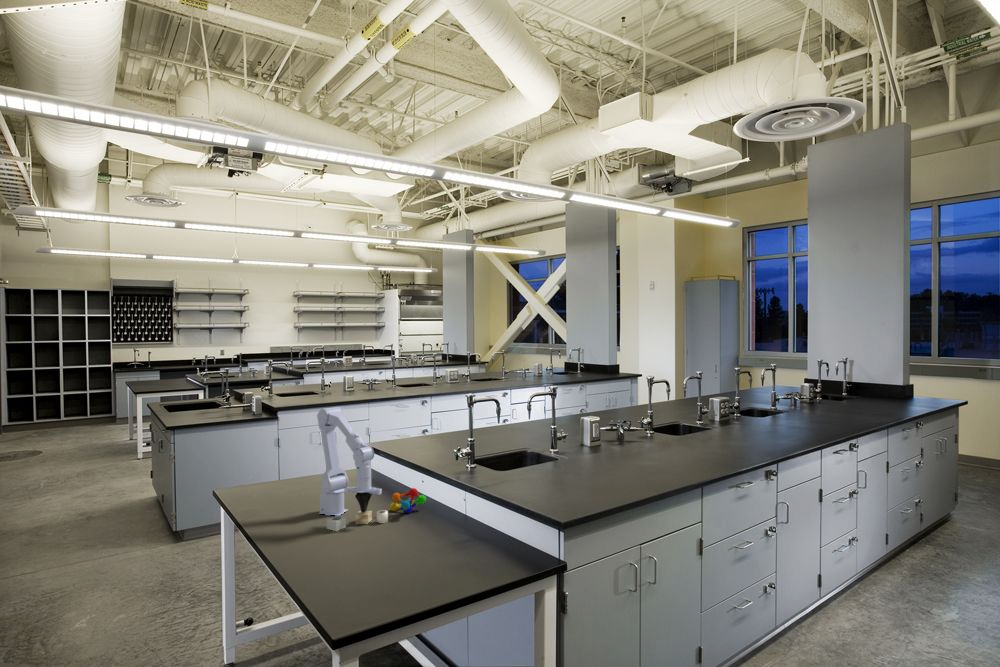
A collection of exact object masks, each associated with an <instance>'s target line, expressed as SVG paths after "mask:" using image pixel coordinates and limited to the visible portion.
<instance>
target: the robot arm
mask: <svg viewBox="0 0 1000 667" xmlns="http://www.w3.org/2000/svg"><path fill="white" fill-rule="evenodd" d="M316 418H317V423H318V429H319V430H320V434H321V443H322V448H323V454H324V459H325V460H324V461H325V466H326V470H325V471H324V472H323V473H322V474H321V489H322V492H321V493H320V496H319V513H318V515H319V514H325V515H324V516H330V515H335V516H339V517H341V514H342V515H343V514H345V513H346V512H348V511H349V509H347V508H345V494H348V493H350V494H351V493H356V494H355V496H354V497H355V499H356V500H357V502H358V505H359V508H360V511H361V512H366V511H368V505H369V503H370V500H371V497H372V495H378V496H379V495H382V493H383V491H382V489H383V488H379V487H375V486H372V460H373V459H374V457H375V451H374V448H373V446H371V445H368V444H367V443H366V442H365V441H364V440H363V438H362V437H361V436H360V434H359V433H358V432H354V430H353V428H352V427H351V425H350V423H349V421H348V420H347V412H346V411H345V409H344V407H343V406H334V407H328V408H325V407H324V408H320V409H319V411H318V413H317V414H316ZM336 427H337V428H338V429H339V430H340V431H341V433H342V434H343V435H344V436H345V437H346V438H345V443H346V444H347V446H348V447H349V448H350V450H351V451H352V453H353V454H352V459H353V460H354V466H355V467H356V469H355V471H356V474H355V475H356V478H355V479H356V480H355V481H356V484H355V485H356V486H349V478H348V477H349V476H348V475H347V473H346V470H345V469H343V467H341V465H340V461H339V460H340V458H339V455H338V448H337V447H338V446H337V442H336V435H335V428H336ZM344 512H345V513H344ZM335 516H334V517H335Z"/></svg>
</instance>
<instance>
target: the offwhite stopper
mask: <svg viewBox="0 0 1000 667" xmlns="http://www.w3.org/2000/svg"><path fill="white" fill-rule="evenodd" d="M377 522H379V523H385V522H387V523H388V522H389V511H388V510H387V509H385V510H384V509H383V510H377V511H376V523H377ZM385 524H386V523H385Z"/></svg>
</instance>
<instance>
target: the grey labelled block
mask: <svg viewBox="0 0 1000 667" xmlns="http://www.w3.org/2000/svg"><path fill="white" fill-rule="evenodd" d="M345 527H346V528H347V517H343V516H332V517H331V518H328V519H326V530H327V529H330V530H335V531H338V530H340V529H342V528H345ZM346 528H345V529H346ZM342 530H343V529H342ZM340 531H341V530H340ZM338 532H339V531H338Z"/></svg>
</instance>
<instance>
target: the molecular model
mask: <svg viewBox="0 0 1000 667" xmlns="http://www.w3.org/2000/svg"><path fill="white" fill-rule="evenodd" d="M407 496H409V497H408V498H407V499H406V500H403V499H401V498H403V497H407ZM415 497H416V498H417V499H414V498H415ZM391 498H392V499H391V500H392V501H393V502H392V503H390V505H389V509H390V511H391V512H396V511H397V510H403V511H404V512H405V513H406V514H411V513H412V512H413V509H414V507H416V506H417V505H419V504H422V505H423V504H424V503H426V501H427V496H425V495H423V494H420V495H419V492H418V489H417V488H415V487H412V488H410V490H409V491H408V492H405V493H401V494H400V493H399V492H394V493H392V496H391ZM397 502H399V503H397Z"/></svg>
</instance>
